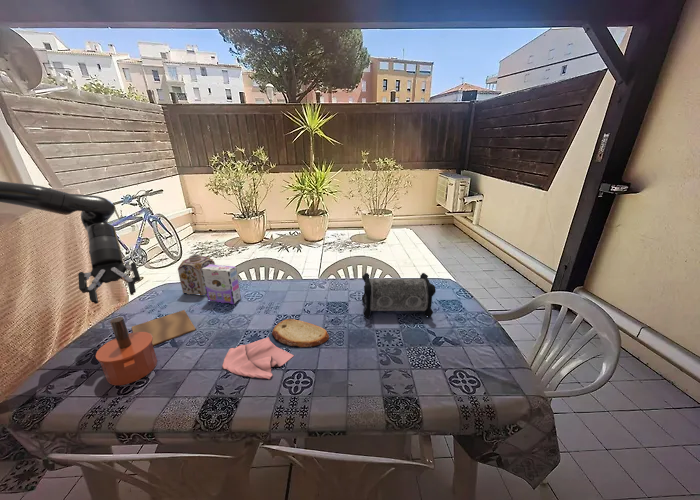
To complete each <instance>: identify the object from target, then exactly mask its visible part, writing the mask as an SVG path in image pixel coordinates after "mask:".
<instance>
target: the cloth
mask: <svg viewBox="0 0 700 500" xmlns="http://www.w3.org/2000/svg"><path fill="white" fill-rule="evenodd" d="M293 357H295V355H294V354H293V353H290V352H288V351H286V350H284V349H282V348H280V347H279V346H276V345H275V344H274V343H273V342H272V341H271V339H270V337H269V336H268V337H265V338H261V339H259V340H256V341H252V342H250V343H246V344H240V345H238V346H236V347H231V348H229V349H228V351H227V353H226V354H225V357H224V358H223V362H222V366H221V367H222V369H223V370H227V372H230V373H232V374H234V375H237V376H242V377H245V378H248V377H249V378H252V379H266V380H267V379H268V380H271V378H272V377H273V376H274V375H273V373H272V368H275V367H276V368H280V367H282V366H284V365H285V364H286V363H288V362H289V361H290V360H292V358H293Z"/></svg>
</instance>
